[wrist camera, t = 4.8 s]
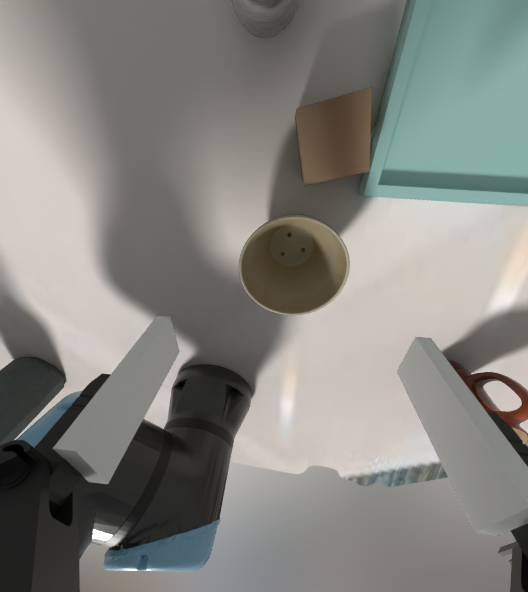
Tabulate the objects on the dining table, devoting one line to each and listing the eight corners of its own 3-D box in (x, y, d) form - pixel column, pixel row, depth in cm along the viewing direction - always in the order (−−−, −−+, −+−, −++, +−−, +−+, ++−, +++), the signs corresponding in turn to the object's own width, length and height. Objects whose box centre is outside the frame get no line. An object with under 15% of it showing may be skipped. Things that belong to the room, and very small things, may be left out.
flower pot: (324, 285, 29) (332, 321, 23) (248, 275, 29) (237, 308, 23) (347, 205, 23) (366, 224, 17) (252, 193, 24) (240, 209, 18)
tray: (358, 192, 23) (363, 196, 21) (438, -122, 13) (459, -161, 11) (537, 203, 22) (557, 208, 20) (763, -129, 12) (839, -172, 10)
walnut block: (302, 178, 23) (304, 185, 18) (295, 116, 20) (296, 109, 16) (354, 166, 22) (369, 171, 17) (354, 100, 19) (371, 87, 15)
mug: (438, 395, 39) (480, 465, 30) (395, 380, 38) (426, 448, 29) (504, 353, 32) (581, 427, 24) (455, 332, 31) (517, 402, 23)
